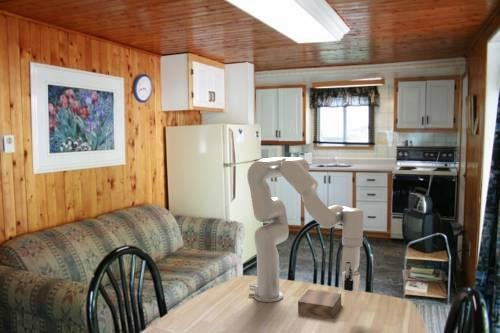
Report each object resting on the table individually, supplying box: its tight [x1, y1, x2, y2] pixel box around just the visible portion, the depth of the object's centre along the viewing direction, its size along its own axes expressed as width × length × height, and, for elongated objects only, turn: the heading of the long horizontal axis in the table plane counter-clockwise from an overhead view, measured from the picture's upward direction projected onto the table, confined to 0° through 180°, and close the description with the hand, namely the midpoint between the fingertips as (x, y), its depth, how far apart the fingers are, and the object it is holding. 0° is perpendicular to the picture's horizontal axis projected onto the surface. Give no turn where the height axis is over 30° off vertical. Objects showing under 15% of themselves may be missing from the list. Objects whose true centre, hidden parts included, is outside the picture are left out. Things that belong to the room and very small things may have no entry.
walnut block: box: [297, 288, 342, 319], centre depth 181 cm, size 14×14×5 cm
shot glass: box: [341, 270, 361, 294], centre depth 171 cm, size 7×7×7 cm
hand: (350, 286), depth 171 cm, fingers closed on shot glass, 6 cm apart
